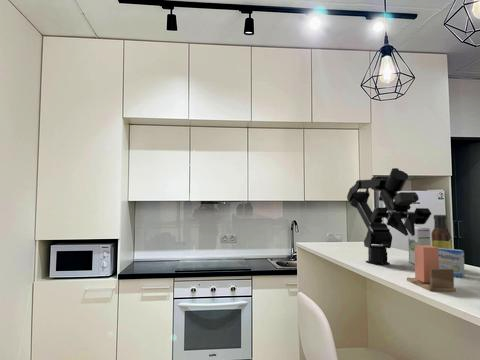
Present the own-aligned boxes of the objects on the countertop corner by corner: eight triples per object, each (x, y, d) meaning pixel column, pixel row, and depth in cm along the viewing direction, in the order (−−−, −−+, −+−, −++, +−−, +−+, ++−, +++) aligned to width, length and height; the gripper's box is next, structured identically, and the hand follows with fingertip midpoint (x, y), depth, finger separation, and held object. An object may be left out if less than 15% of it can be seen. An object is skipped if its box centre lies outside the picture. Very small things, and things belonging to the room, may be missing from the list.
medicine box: (434, 273, 105) (433, 248, 106) (437, 271, 108) (436, 247, 109) (462, 278, 100) (462, 251, 100) (464, 275, 103) (464, 249, 104)
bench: (406, 280, 95) (406, 261, 95) (429, 280, 95) (429, 261, 96) (430, 291, 84) (429, 269, 84) (456, 291, 84) (455, 269, 84)
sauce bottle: (457, 271, 109) (455, 215, 110) (439, 271, 109) (437, 215, 110) (445, 267, 115) (443, 214, 117) (428, 267, 116) (427, 214, 117)
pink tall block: (415, 278, 93) (414, 245, 94) (429, 278, 93) (428, 245, 94) (424, 282, 88) (423, 247, 89) (439, 282, 89) (438, 247, 89)
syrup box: (432, 265, 119) (431, 228, 120) (418, 265, 118) (417, 227, 119) (421, 262, 125) (420, 226, 126) (408, 263, 124) (407, 226, 125)
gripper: (373, 183, 106) (390, 217, 94) (427, 184, 106) (450, 218, 95) (364, 206, 113) (378, 240, 102) (414, 207, 114) (434, 241, 102)
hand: (410, 235), depth 100 cm, fingers closed
